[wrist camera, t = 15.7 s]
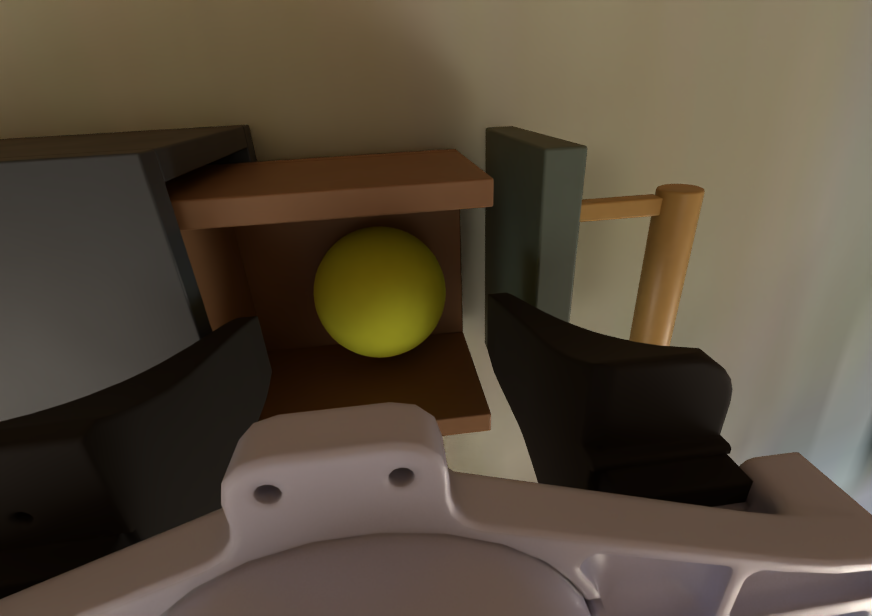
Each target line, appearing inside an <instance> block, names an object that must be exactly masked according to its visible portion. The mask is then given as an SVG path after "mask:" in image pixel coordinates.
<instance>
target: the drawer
mask: <svg viewBox="0 0 872 616" xmlns="http://www.w3.org/2000/svg"><path fill="white" fill-rule="evenodd" d="M586 156H587V146H584V145H581V144H577V143H573V142H569V141H566V140H562V139H558V138H554V137H551V136H547V135H543V134H539V133H536V132H532V131H528V130H524V129H521V128H517V127H513V126H509V127H493V128H486V173H485V172H484V171H483V170H481V169H480V168H479V167H478V166H476V165H475V164H474V163H472V162H471V161H470V160H469V159H467V158H466V157H465V156H463V155H462V154H461V153H459V152H458V151H457V150H456V149H445V150H430V151H414V152H399V153H384V154H368V155H353V156H338V157H322V158H307V159H292V160H276V161H261V162H246V163H231V164H215V165H204V166H202V167H200V168H197V169H195V170H193V171H190V172H188V173H185V174H183V175H181V176H178V177H176V178H174V179H171V180H169V181H167V182H165V185H166V188H167V191H168V195H169V198H170V201H171V204H172V207H173V210H174V213H175V216H176V219H177V222H178V226H179V229H180V232H181V235H182V238H183V241H184V244H185V247H186V250H187V254H188V257H189V260H190V263H191V266H192V269H193V272H194V275H195V278H196V281H197V285H198V288H199V291H200V294H201V297H202V300H203V303H204V306H205V309H206V312H207V316H208V319H209V322H210V325H211V328H212V331H214V330H216V329H218V328H219V327H221V326H222V325H224V324H226V323H228V322H229V321H231V320H233V319H236V318H241V317H251V316H258V320H259V323H260V327H261V331H262V335H263V339H264V342H265V346H266V350H267V354H268V358H269V362H270V365H271V369H272V374H271V380H270V385H269V390H268V394H267V398H266V401H265V404H264V407H263V409H262V412H261V415H260V417H259V420H258V421H261V420H264V419H267V418H270V417H273V416H276V415H281V414H290V413H299V412H307V411H316V410H325V409H334V408H343V407H351V406H360V405H369V404H378V403H387V402H394V403H404V404H414V405H417V406H418V407H420V408H422V409H423V410H425V411H426V412H428V413H429V414H431V415H433V416H434V417H435V419H436V422H437V424H438V427H439V429H440V431H441V434H442V436H446V435H454V434H462V433H471V432H479V431H488V430H490V429H491V413H490V410H489V407H488V404H487V401H486V398H485V395H484V392H483V389H482V386H481V383H480V381H479V378H478V375H477V372H476V369H475V366H474V363H473V360H472V357H471V354H470V351H469V349H468V346H467V343H466V340H465V337H464V334H463V321H462V278H461V235H460V209H470V208H483V207H485V344H486V347H487V314H488V294H495V293H509V294H512V295H514V296H516V297H517V298H519V299H521V300H523V301H525V302H527V303H529V304H530V305H532V306H534V307H536V308H538V309H540V310H542V311H544V312H546V313H548V314H550V315H552V316H554V317H556V318H559V319H561V320H563V321H565V322H568V323H569V321H570V311H571V301H572V292H573V282H574V272H575V262H576V253H577V243H578V233H579V224H580V222H585V221H597V220H610V219H622V218H635V217H647V216H651V220H650V226H649V232H648V237H647V243H646V249H645V254H644V260H643V265H642V271H641V277H640V282H639V288H638V294H637V299H636V305H635V310H634V316H633V322H632V327H631V333H630V339H629V341H634V342H640V343H647V344H654V345H661V346H670V342H671V337H672V333H673V328H674V324H675V320H676V315H677V311H678V306H679V302H680V298H681V293H682V289H683V285H684V280H685V276H686V271H687V267H688V263H689V258H690V254H691V249H692V245H693V241H694V236H695V232H696V227H697V223H698V219H699V214H700V210H701V206H702V201H703V197H704V192H705V191H704V189H703V188H701V187H699V186H695V185H688V184H665V185H661V186H658V187H657V188H656V192H655V195H653V194H649V195H636V196H622V197H609V198H596V199H583V200H582V195H583V185H584V175H585V165H586ZM382 226H383V227H391V228H395V229H399V230H402V231H405V232H407V233H409V234H411V235H413V236H415V237H416V238H418V239H419V240H420V241H422V242H423V243H424V244H425V245H426V246H427V247H428V248H429V249H430V250H431V252H432V253H433V254H434V256H435V257H436V259H437V261H438V263H439V265H440V267H441V270H442V272H443V276H444V280H445V289H446V297H445V304H444V309H443V312H442V315H441V318H440V320H439V322H438V324H437V326H436V327H435V329H434V330H433V332H432V333H431V334H430V335H429V336H428V337H427V338H426V339H425V340H424V341H423V342H422V343H421V344H419V345H418V346H417V347H415V348H413V349H411V350H410V351H408V352H405V353H402V354H400V355H396V356H392V357H382V358H378V357H368V356H364V355H360V354H357V353H355V352H352V351H350V350H348V349H346V348H345V347H343V346H342V345H340V344H339V343H338V342H337V341H335V340H334V339H333V338H332V337H331V336H330V334H329V333H328V332H327V331H326V329H325V328H324V326H323V325H322V323H321V321H320V318H319V316H318V314H317V311H316V308H315V302H314V281H315V276H316V272H317V269H318V267H319V265H320V263H321V261H322V259H323V257H324V256H325V254H326V253H327V251H328V250H329V249H330V248H331V247H332V246H333V245H334V244H335V243H336V242H337V241H339V240H340V239H341V238H342V237H344V236H346V235H348V234H349V233H351V232H354V231H356V230H359V229H363V228H368V227H382Z"/></svg>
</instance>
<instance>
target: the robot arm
mask: <svg viewBox="0 0 872 616" xmlns="http://www.w3.org/2000/svg"><path fill="white" fill-rule="evenodd" d="M487 349H488V353H489V356H490V360H491V363H492V367H493V370H494V373H495V375H496V377H497V380H498V382H499V384H500V386H501V388H502V391H503V393H504V395H505V397H506V399H507V401H508V403H509V405H510V407H511V410H512V412H513V414H514V416H515V418H516V420H517V422H518V425H519V427H520V429H521V432H522V434H523V437H524V440H525V443H526V446H527V449H528V452H529V455H530V458H531V461H532V464H533V468H534V471H535V474H536V477H537V480H538V483H533V482H526V481H519V480H512V479H504V478H497V477H490V476H483V475H475V474H468V473H461V472H454V471H452V470H451V469H449V468H448V465H447V460H446V455H445V449H444V444H443V438H442V434H441V431H440V429H439V427H438V424H437V422H436V419H435V417H434V416H433V415H431V414H429V413H428V412H426V411H425V410H423V409H422V408H420V407H418V406H417V405H414V404H404V403H394V402H387V403H378V404H369V405H360V406H351V407H343V408H334V409H325V410H316V411H307V412H299V413H290V414H281V415H276V416H273V417H270V418H267V419H264V420H261V421H258V420H259V417H260V415H261V412H262V409H263V407H264V404H265V401H266V398H267V394H268V390H269V385H270V380H271V374H272V369H271V365H270V362H269V358H268V354H267V350H266V346H265V342H264V339H263V335H262V331H261V327H260V323H259V320H258V316H251V317H241V318H236V319H233V320H231V321H229V322H228V323H226V324H224V325H222V326H221V327H219V328H218V329H216V330H214V331H213V332H211V333H210V334H208V335H206V336H205V337H203V338H202V339H200V340H199V341H197V342H195V343H194V344H192V345H191V346H189V347H187V348H186V349H184V350H182V351H180V352H179V353H177V354H175V355H174V356H172V357H170V358H168V359H167V360H165V361H163V362H161V363H160V364H158V365H156V366H154V367H152V368H150V369H148V370H146V371H144V372H142V373H140V374H138V375H136V376H134V377H131V378H129V379H127V380H125V381H123V382H120V383H118V384H115V385H113V386H110V387H108V388H105V389H103V390H100V391H98V392H95V393H93V394H90V395H87V396H85V397H82V398H79V399H76V400H73V401H70V402H67V403H64V404H61V405H58V406H55V407H52V408H48V409H45V410H42V411H38V412H35V413H31V414H28V415H24V416H20V417H16V418H12V419H8V420H5V421H1V422H0V616H872V515H871V514H870V513H869V512H868V511H866V510H865V509H864V508H863V507H862V506H861V505H859V504H858V503H857V502H856V501H855V500H853V499H852V498H851V497H850V496H849V495H848V494H846V493H845V492H844V491H843V490H842V489H841V488H839V487H838V486H837V485H836V484H835V483H834V482H832V481H831V480H830V479H829V478H828V477H827V476H825V475H824V474H823V473H822V472H821V471H820V470H818V469H817V468H816V467H815V466H814V465H813V464H811V463H810V462H809V461H808V460H807V459H806V458H804V457H803V456H802V455H801V454H800V453H797V452H792V453H785V454H777V455H770V456H762V457H755V458H752V459H748V460H746V461H745V462H744V463H742V464H741V465H740V466H738V465H737V464H736V463H735V462H734V461H733V460H732V459H731V458H730V457H729V456H728V455H727V454H729V453H730V451H731V447H730V444H729V443H728V442H727V441H726V440H725V439H724V438H723V437H722V436H721V435H720V433H721V430H722V426H723V423H724V420H725V417H726V414H727V411H728V408H729V404H730V401H731V395H732V384H731V379H730V377H729V375H728V374H727V372H726V370H725V369H724V368H723V367H722V366H720V365H719V364H718V363H717V362H715V361H714V360H713V359H712V358H711V357H709V356H708V355H707V354H706V353H704V352H703V351H702V350H701V349H699V348H687V347H673V346H661V345H654V344H647V343H640V342H634V341H629V340H624V339H620V338H615V337H611V336H607V335H603V334H600V333H596V332H593V331H590V330H587V329H584V328H581V327H578V326H575V325H573V324H570V323H568V322H565V321H563V320H561V319H559V318H556V317H554V316H552V315H550V314H548V313H546V312H544V311H542V310H540V309H538V308H536V307H534V306H532V305H530V304H529V303H527V302H525V301H523V300H521V299H519V298H517V297H516V296H514V295H512V294H509V293H495V294H488V314H487Z"/></svg>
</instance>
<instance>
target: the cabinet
mask: <svg viewBox="0 0 872 616" xmlns="http://www.w3.org/2000/svg"><path fill="white" fill-rule="evenodd" d="M246 162H257V161H256V156H255V152H254V147H253V143H252V138H251V134H250V130H249V126H248V125H234V126H217V127H199V128H182V129H165V130H148V131H131V132H114V133H97V134H80V135H63V136H46V137H29V138H11V139H0V422H1V421H5V420H8V419H12V418H16V417H20V416H24V415H28V414H31V413H35V412H38V411H42V410H45V409H48V408H52V407H55V406H58V405H61V404H64V403H67V402H70V401H73V400H76V399H79V398H82V397H85V396H87V395H90V394H93V393H95V392H98V391H100V390H103V389H105V388H108V387H110V386H113V385H115V384H118V383H120V382H123V381H125V380H127V379H129V378H131V377H134V376H136V375H138V374H140V373H142V372H144V371H146V370H148V369H150V368H152V367H154V366H156V365H158V364H160V363H161V362H163V361H165V360H167V359H168V358H170V357H172V356H174V355H175V354H177V353H179V352H180V351H182V350H184V349H186V348H187V347H189V346H191V345H192V344H194V343H195V342H197V341H199V340H200V339H202V338H203V337H205V336H206V335H208V334H210V333H211V332H213V331H212V328H211V325H210V322H209V319H208V316H207V312H206V309H205V306H204V303H203V300H202V297H201V294H200V291H199V288H198V285H197V281H196V278H195V275H194V272H193V269H192V266H191V263H190V260H189V257H188V254H187V250H186V247H185V244H184V241H183V238H182V235H181V232H180V229H179V226H178V222H177V219H176V216H175V213H174V210H173V207H172V204H171V201H170V198H169V195H168V191H167V188H166V185H165V182H167V181H169V180H171V179H174V178H176V177H178V176H181V175H183V174H185V173H188V172H190V171H193V170H195V169H197V168H200V167H202V166H204V165H215V164H231V163H246Z"/></svg>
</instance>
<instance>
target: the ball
mask: <svg viewBox="0 0 872 616" xmlns="http://www.w3.org/2000/svg"><path fill="white" fill-rule="evenodd" d="M445 297H446V289H445V280H444V276H443V272H442V270H441V267H440V265H439V263H438V261H437V259H436V257H435V256H434V254H433V253H432V252H431V250H430V249H429V248H428V247H427V246H426V245H425V244H424V243H423V242H422V241H420V240H419V239H418V238H416V237H415V236H413V235H411V234H409V233H407V232H405V231H402V230H399V229H395V228H391V227H383V226H382V227H368V228H363V229H359V230H356V231H354V232H351V233H349V234H348V235H346V236H344V237H342V238H341V239H340V240H339V241H337V242H336V243H335V244H334V245H333V246H332V247H331V248H330V249H329V250H328V251H327V253H326V254H325V256H324V257H323V259H322V261H321V263H320V265H319V267H318V269H317V272H316V276H315V281H314V302H315V308H316V311H317V314H318V316H319V318H320V321H321V323H322V325H323V326H324V328H325V329H326V331H327V332H328V333H329V334H330V336H331V337H332V338H333V339H334V340H335V341H337V342H338V343H339V344H340V345H342V346H343V347H345V348H346V349H348V350H350V351H352V352H355V353H357V354H360V355H364V356H368V357H378V358H382V357H392V356H396V355H400V354H402V353H405V352H408V351H410V350H411V349H413V348H415V347H417V346H418V345H419V344H421V343H422V342H423V341H424V340H425V339H426V338H427V337H428V336H429V335H430V334H431V333H432V332H433V330H434V329H435V327H436V326H437V324H438V322H439V320H440V318H441V315H442V312H443V309H444V304H445Z"/></svg>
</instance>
